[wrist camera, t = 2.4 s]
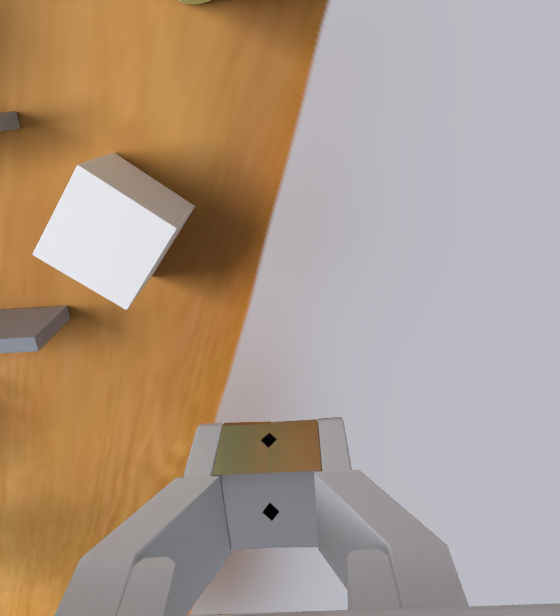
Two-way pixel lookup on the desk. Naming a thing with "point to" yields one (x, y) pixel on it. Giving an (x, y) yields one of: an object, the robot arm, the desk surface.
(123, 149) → the desk surface
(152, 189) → the white cube
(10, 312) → the box
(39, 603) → the desk surface
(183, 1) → the tube
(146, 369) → the desk surface
